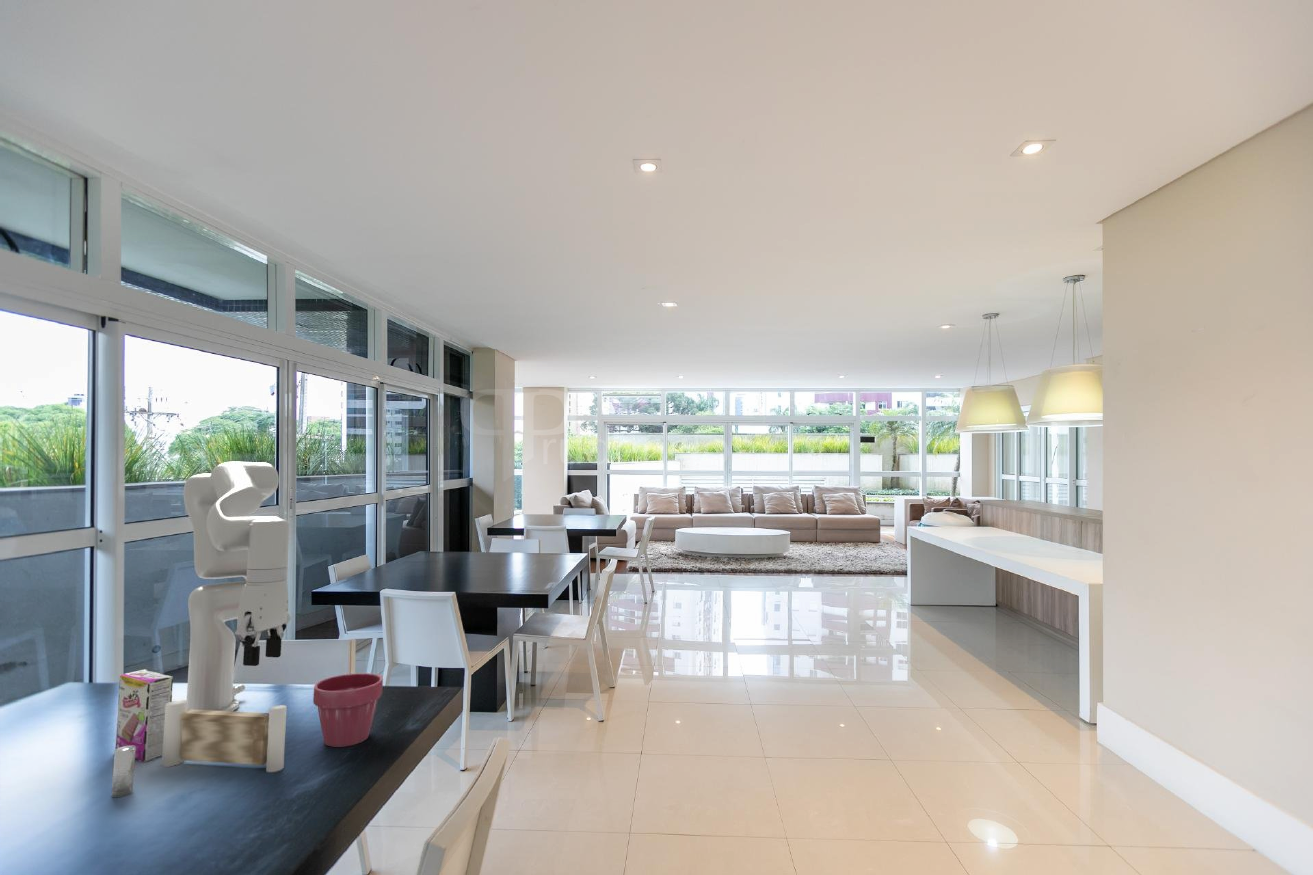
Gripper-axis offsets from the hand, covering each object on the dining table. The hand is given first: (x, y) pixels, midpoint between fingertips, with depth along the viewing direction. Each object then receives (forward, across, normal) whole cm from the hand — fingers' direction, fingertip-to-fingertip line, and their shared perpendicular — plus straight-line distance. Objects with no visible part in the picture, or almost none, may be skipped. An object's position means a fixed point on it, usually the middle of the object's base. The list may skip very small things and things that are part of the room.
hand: (262, 660), depth 137 cm
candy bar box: (+20, +3, -24) cm, 31 cm away
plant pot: (+20, -10, +14) cm, 26 cm away
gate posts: (+20, +6, -3) cm, 21 cm away
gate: (+19, +6, -3) cm, 20 cm away
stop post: (+20, +19, -12) cm, 30 cm away
